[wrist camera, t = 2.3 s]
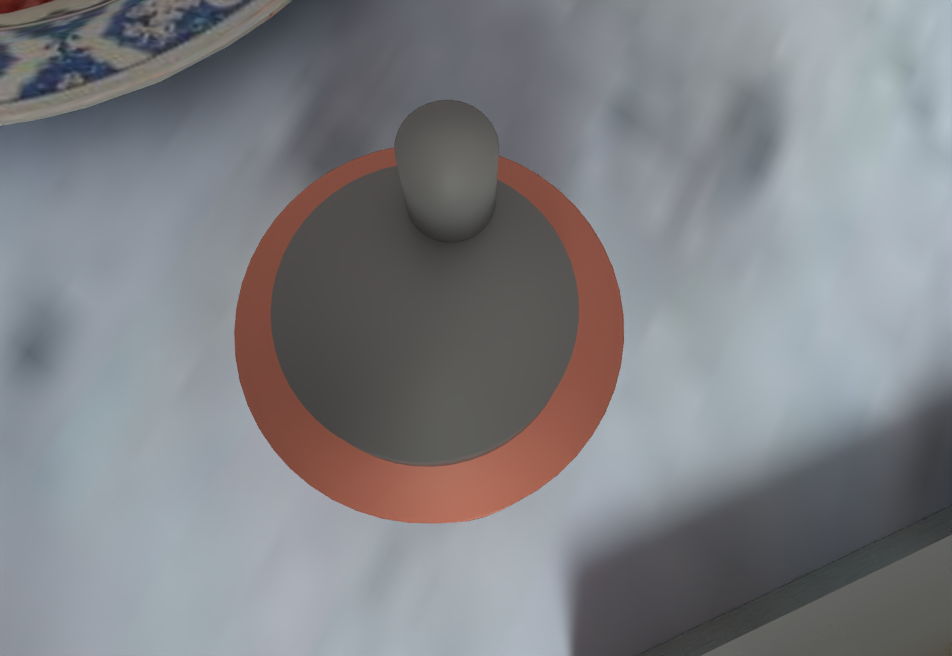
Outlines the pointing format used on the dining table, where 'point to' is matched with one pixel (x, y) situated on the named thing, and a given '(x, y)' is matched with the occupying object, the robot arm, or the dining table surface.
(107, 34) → the ceramic plate
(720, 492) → the dining table surface
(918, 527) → the square socket fixture
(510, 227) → the sippy cup
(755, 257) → the dining table surface
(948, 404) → the dining table surface
